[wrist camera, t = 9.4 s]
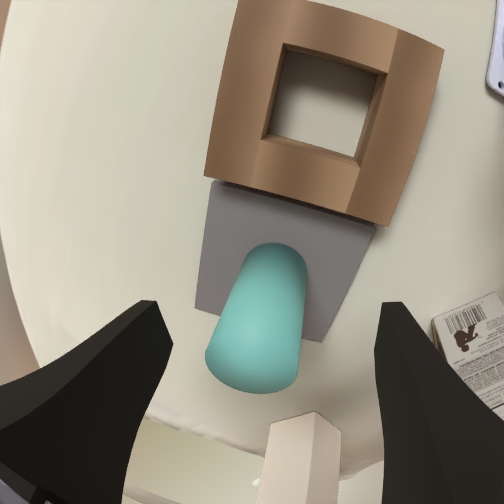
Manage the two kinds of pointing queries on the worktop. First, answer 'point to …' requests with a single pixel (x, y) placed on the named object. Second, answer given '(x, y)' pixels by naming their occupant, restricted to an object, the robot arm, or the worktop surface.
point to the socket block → (306, 155)
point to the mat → (285, 232)
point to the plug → (261, 322)
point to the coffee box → (476, 347)
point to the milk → (301, 462)
